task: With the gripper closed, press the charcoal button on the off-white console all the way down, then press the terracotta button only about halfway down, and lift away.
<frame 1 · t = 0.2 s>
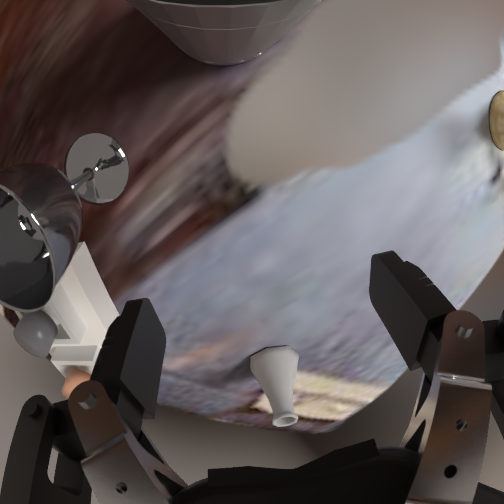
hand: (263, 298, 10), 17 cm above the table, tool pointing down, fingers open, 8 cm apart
charcoal button: (35, 332, 22), point 8 cm above the table, slide at 0.0 cm
wine glass: (95, 169, 23), on the table
terracotta button: (80, 388, 28), point 8 cm above the table, slide at 0.0 cm
console: (80, 315, 32), on the table
flask: (273, 359, 39), on the table
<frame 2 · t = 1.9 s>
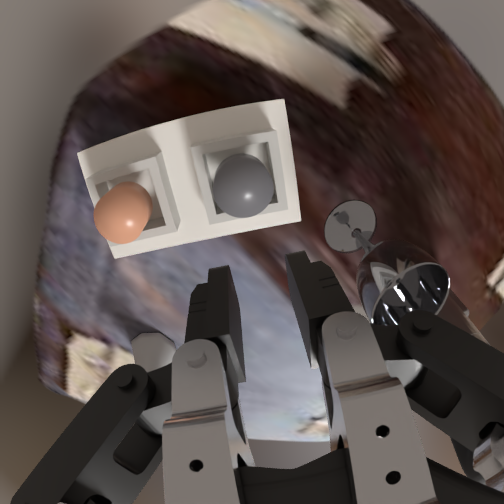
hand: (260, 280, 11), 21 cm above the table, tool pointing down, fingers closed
charcoal button: (242, 184, 22), point 8 cm above the table, slide at 0.0 cm
wine glass: (350, 227, 34), on the table
terracotta button: (123, 211, 22), point 8 cm above the table, slide at 0.0 cm
console: (191, 173, 29), on the table
flask: (155, 346, 42), on the table
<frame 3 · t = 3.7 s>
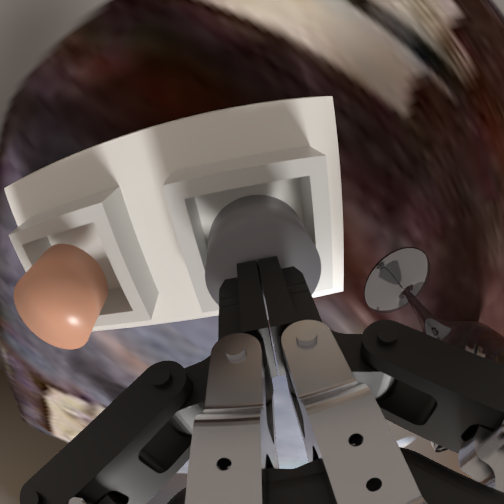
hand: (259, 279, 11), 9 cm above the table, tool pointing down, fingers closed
charcoal button: (260, 256, 12), point 8 cm above the table, slide at 0.4 cm, touching gripper
wine glass: (397, 281, 24), on the table
terracotta button: (61, 297, 12), point 8 cm above the table, slide at 0.0 cm
console: (174, 212, 19), on the table
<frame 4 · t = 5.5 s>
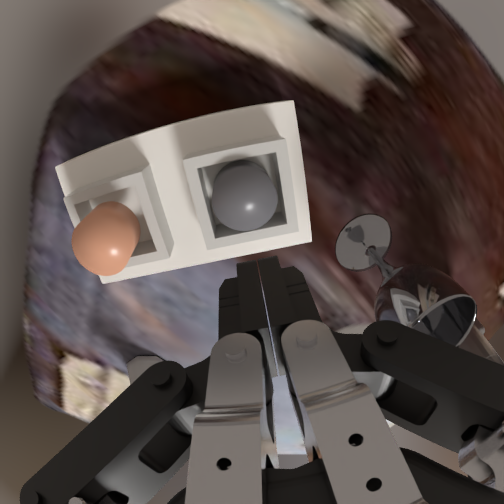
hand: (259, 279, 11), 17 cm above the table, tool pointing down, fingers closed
charcoal button: (243, 194, 20), point 6 cm above the table, slide at 2.3 cm
wine glass: (364, 243, 31), on the table
terracotta button: (106, 237, 19), point 8 cm above the table, slide at 0.0 cm
console: (185, 186, 26), on the table
flask: (152, 368, 38), on the table
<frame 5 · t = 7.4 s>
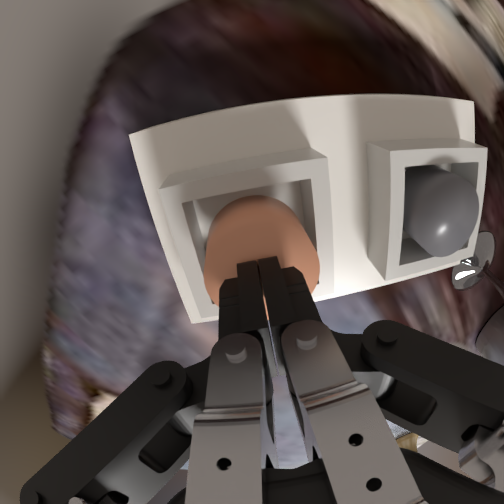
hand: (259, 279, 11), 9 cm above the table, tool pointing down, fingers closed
hand bell: (401, 440, 47), on the table
charcoal button: (436, 208, 13), point 6 cm above the table, slide at 2.3 cm
wine glass: (474, 261, 23), on the table
terracotta button: (258, 257, 12), point 7 cm above the table, slide at 0.9 cm, touching gripper
console: (322, 186, 18), on the table
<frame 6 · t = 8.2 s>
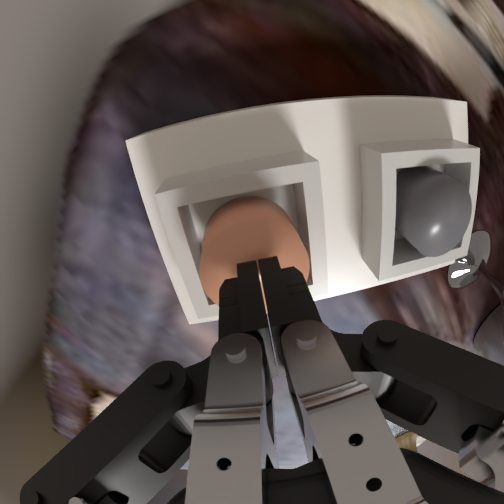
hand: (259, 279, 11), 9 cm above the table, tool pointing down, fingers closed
hand bell: (401, 438, 47), on the table
charcoal button: (428, 208, 14), point 6 cm above the table, slide at 2.3 cm
wine glass: (470, 260, 24), on the table
terracotta button: (252, 254, 13), point 7 cm above the table, slide at 1.2 cm
console: (316, 188, 19), on the table
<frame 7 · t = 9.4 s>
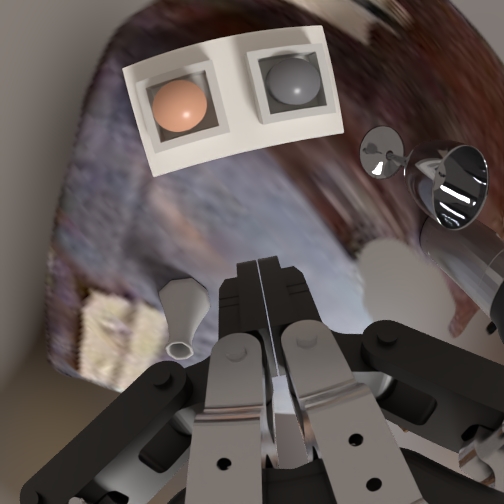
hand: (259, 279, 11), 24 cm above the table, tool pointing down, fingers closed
charcoal button: (291, 81, 23), point 6 cm above the table, slide at 2.3 cm
wine glass: (382, 152, 33), on the table
terracotta button: (181, 105, 22), point 7 cm above the table, slide at 1.2 cm
console: (234, 94, 28), on the table
flask: (184, 297, 40), on the table
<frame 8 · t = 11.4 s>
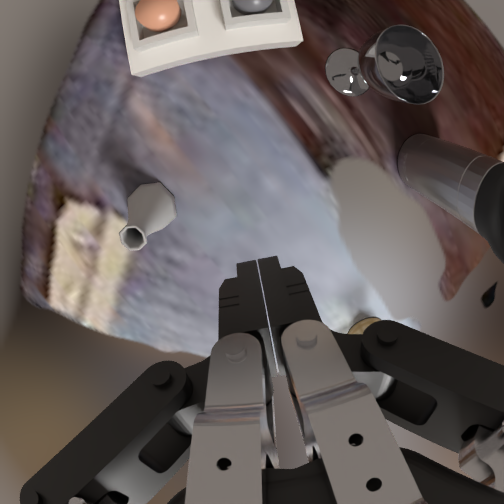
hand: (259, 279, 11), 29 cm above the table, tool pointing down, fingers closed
hand bell: (364, 331, 55), on the table
wine glass: (349, 72, 32), on the table
terracotta button: (158, 11, 21), point 7 cm above the table, slide at 1.2 cm
console: (209, 17, 27), on the table
flask: (152, 205, 39), on the table
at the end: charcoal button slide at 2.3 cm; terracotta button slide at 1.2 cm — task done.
